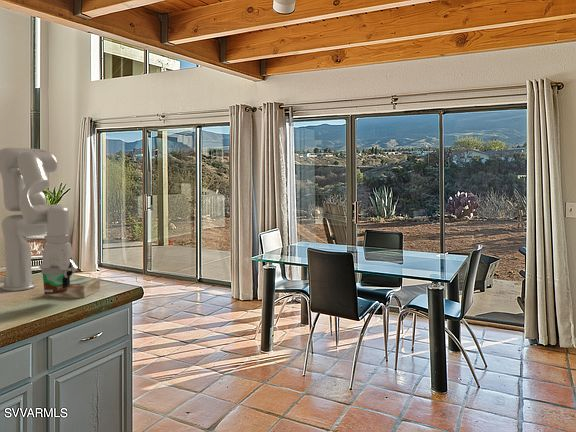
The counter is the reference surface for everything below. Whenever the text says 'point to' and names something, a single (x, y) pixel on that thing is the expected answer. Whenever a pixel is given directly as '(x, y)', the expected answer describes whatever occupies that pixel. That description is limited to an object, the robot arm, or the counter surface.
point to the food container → (53, 280)
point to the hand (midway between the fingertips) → (58, 286)
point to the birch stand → (80, 288)
